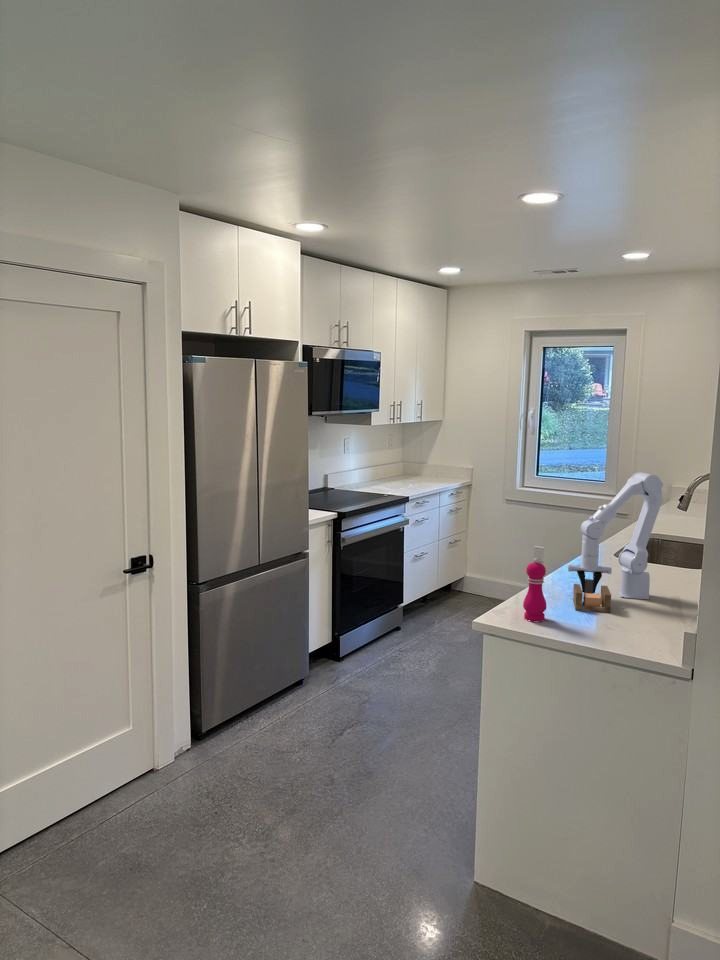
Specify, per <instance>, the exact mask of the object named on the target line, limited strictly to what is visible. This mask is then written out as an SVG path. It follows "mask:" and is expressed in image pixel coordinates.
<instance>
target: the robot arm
mask: <svg viewBox="0 0 720 960" xmlns="http://www.w3.org/2000/svg"><path fill="white" fill-rule="evenodd" d="M663 486H664V483H663V481H662V480H661V479H660V476H658V475H656V474H651V473H650V474H649V473H645V472H643V471H637V472H635V473H633V474H632V476H631V477H629V478H628V479H627V481H626V484H625V485H623V487H622V488H621V489H620V491H619V492H618V493H617V494H616V495H615V496H614V497H613V499H612V500H611V501H610V502H609V503H607V504H606V503H605V504H603V505H599V506H598V508H597V509H598V510H597V511H596V512H594V514H592V516H589V518H588V519H587V520H584V521H583V522H582V523H581V526H580V527H579V532H580V533H581V535H582V537H581V539H582V541H581V557H580V558H581V559H580V561H581V563H580V564H567V572H568V573H569V572H570V573H571V572H576V573H577V576H578V578H579V582H580V586H581V590H582V593H583V594H584V593H585V579H586V573H592V577H593V578H592V579H593V582H594V583H593V594H596V590H597V586H598V584H599V582H600V580H601V579H602V577H603V575H602V574H607V575H611V574H612V570H613V569H612V567H610V566H603V565H599V557H600V556H599V555H600V539H601V538H600V537H602V536H603V534H604V530H605V529H606V527H607V526H608V525H609V524H610V523H611V522H612V521H613V520H614V518H616V517H617V515H618V512H617V511H618V510H619V509H620V508H622V506H624V505H625V504H626V503H627V502H628V501H629V500H630V499H631V498H632V497H633V496H637V495H641V497H642V499H643V504H642V508H641V510H640V513H639V516H638V519H637V522H636V525H635V527H634V530H633V533H632V536H631V538H630V542H629V543H627V544H626V545H624V548H623V550H622V551H621V552H620V553H619V554H618V556H617V557H618V558H617V559H618V560H617V561H618V563H619V565H620V567H621V569H620V570H621V571H620V587H619V589H618V590H617V592H618V594H619V598H622V597H624V599H638V600H650V585H651V584H650V582H651V581H650V580H651V579H650V578H651V577H650V573H649V572H648V571H646V570H647V568H648V565H649V564H648V558H649V552H648V550H647V546H648V542H649V539H650V537H651V534H652V531H653V528H654V525H655V523H656V519H657V518H658V515H659V511H660V509H661V506H662V502H663V491H662V489H663Z"/></svg>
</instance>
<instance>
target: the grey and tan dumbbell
mask: <svg viewBox="0 0 720 960" xmlns="http://www.w3.org/2000/svg"><path fill="white" fill-rule="evenodd" d="M593 583H594V582H593V578H592V579H589V578H585V593H583V596H582V605H584V606H598V607H601V594H600V593H593Z"/></svg>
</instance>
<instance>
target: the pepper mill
mask: <svg viewBox="0 0 720 960" xmlns="http://www.w3.org/2000/svg"><path fill="white" fill-rule="evenodd" d="M525 571H526V575H527V576H528V577H527V582H528V588H527V589H528V590H527V592H526V594H525V597H524V600H523V602H522V603H523V604H522V607H523V609H524V610H525V611H524V616H523V617H524V620H526V619H527V620H526V621H528V620H530V621H529V622H531V621H541V622H543V620H544V621H545V617H546V616H545V613H544V612H545V611H546V610H547V601H546V598H545V596H544V593H543V592H544V591H543V584H544V582H545V581H544V580H545V579H544V577H545V575H547V573H546V572H547V570H546V567H545V565H544V564H542V563H541V562H540V559H539V558H538V557H534V558H533V562H530V563H528V565H527V566H526V570H525Z"/></svg>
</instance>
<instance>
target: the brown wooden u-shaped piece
mask: <svg viewBox="0 0 720 960" xmlns="http://www.w3.org/2000/svg"><path fill="white" fill-rule="evenodd" d="M608 586H609V585H600V598H601V604H600V607H598V606H584V605H583V597H584V593H583V592H582V586H581V583H574V584H573V595H572V596H573V597H572V601H573V602H572V603H573V606H574V610H575V611H578V612H581V611H582V612H593V613H605V612H606V613H605V614H607V613H609V614H611V611H612V610H611V609H612V593H611V592H610V589H609V587H608ZM601 605H602V606H601Z"/></svg>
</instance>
